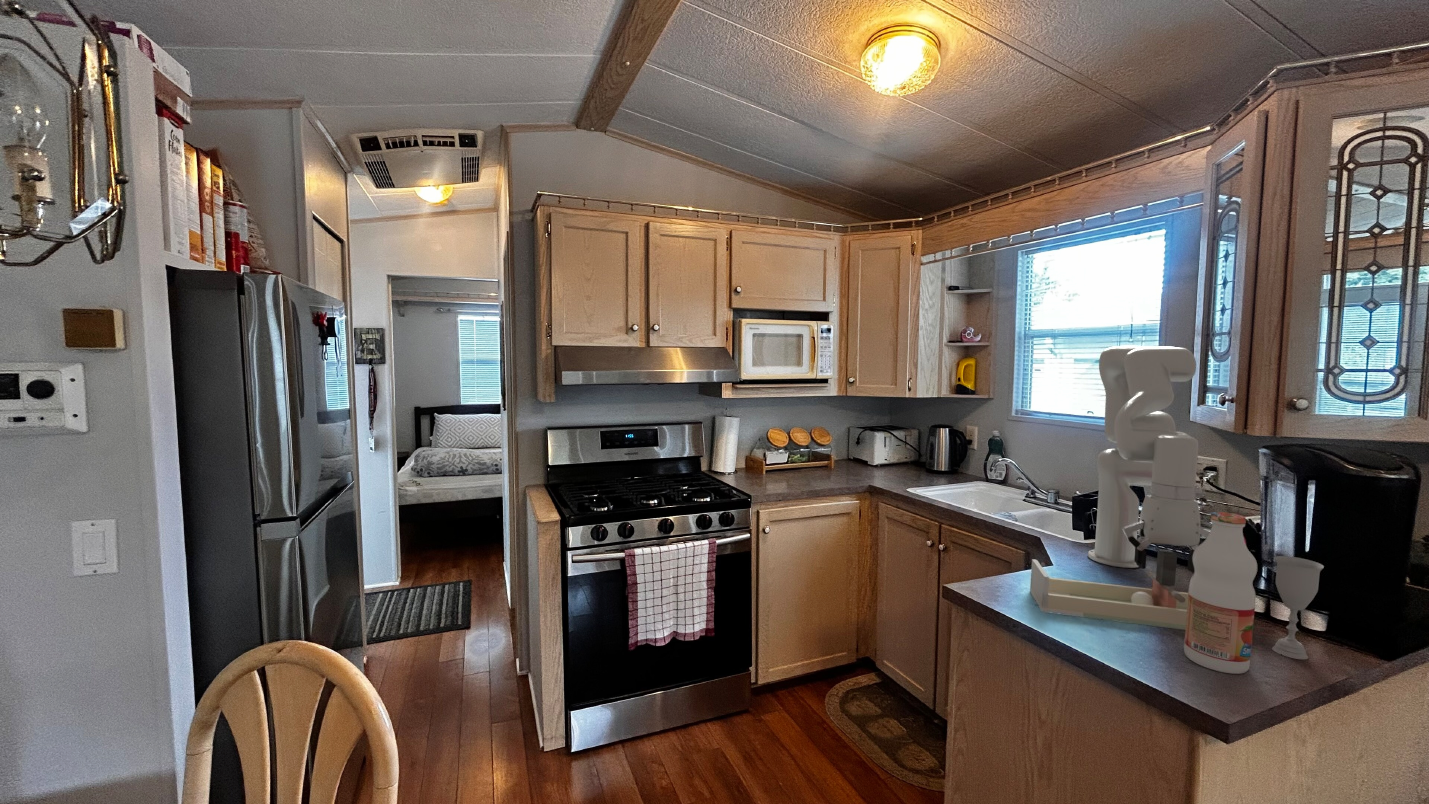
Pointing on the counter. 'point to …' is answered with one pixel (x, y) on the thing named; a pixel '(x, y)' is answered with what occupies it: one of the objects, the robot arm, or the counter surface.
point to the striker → (1165, 580)
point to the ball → (1142, 598)
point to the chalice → (1295, 597)
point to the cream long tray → (1101, 601)
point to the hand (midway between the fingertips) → (1166, 569)
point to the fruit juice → (1221, 598)
